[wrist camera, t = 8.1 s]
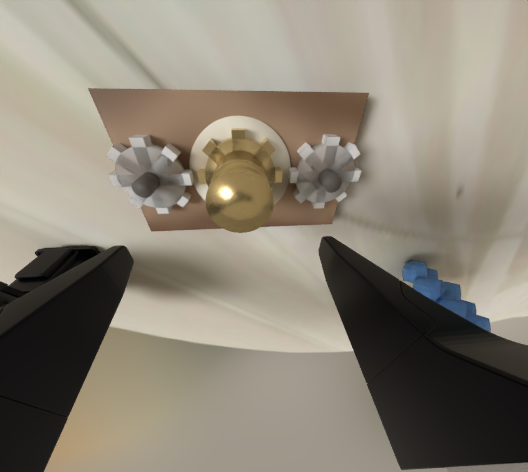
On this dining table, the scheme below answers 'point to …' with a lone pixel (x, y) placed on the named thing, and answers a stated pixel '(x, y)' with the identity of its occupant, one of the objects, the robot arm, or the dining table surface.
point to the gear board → (219, 129)
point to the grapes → (442, 292)
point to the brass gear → (239, 182)
